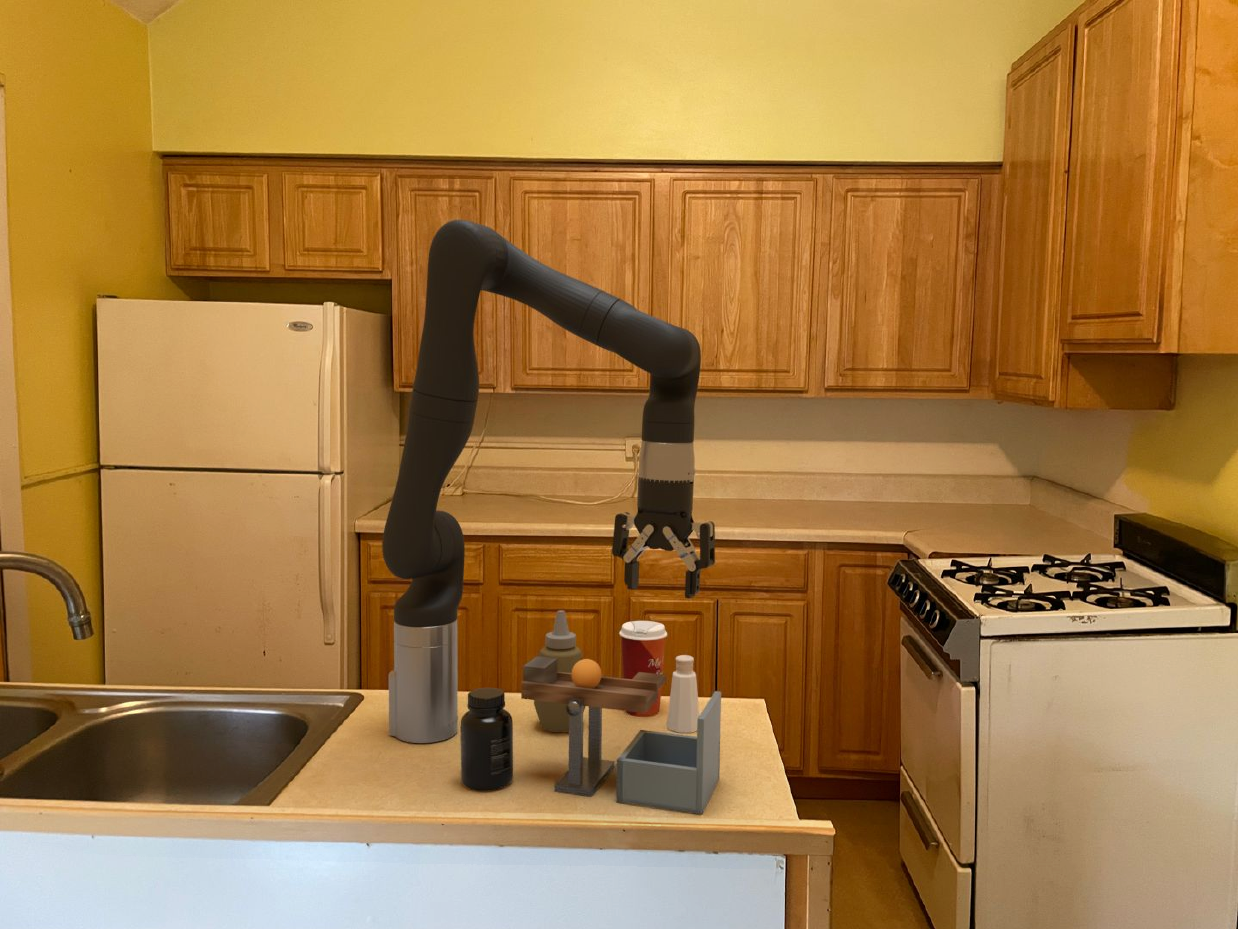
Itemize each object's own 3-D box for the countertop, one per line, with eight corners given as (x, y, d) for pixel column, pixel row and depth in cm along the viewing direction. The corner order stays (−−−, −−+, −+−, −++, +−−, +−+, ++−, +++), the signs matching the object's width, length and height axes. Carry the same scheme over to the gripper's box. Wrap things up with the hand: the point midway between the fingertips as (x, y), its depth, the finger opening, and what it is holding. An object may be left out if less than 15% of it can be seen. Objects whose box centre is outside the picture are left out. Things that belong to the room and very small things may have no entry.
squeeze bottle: (522, 727, 145) (523, 611, 143) (559, 713, 151) (560, 602, 149) (560, 740, 139) (561, 620, 138) (597, 726, 145) (598, 611, 144)
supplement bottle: (511, 769, 128) (511, 683, 127) (514, 791, 122) (515, 700, 121) (460, 772, 127) (460, 685, 126) (460, 794, 121) (460, 702, 120)
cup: (616, 802, 119) (617, 709, 118) (640, 768, 129) (641, 683, 128) (701, 815, 116) (703, 719, 115) (719, 779, 126) (721, 691, 125)
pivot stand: (553, 792, 122) (554, 700, 121) (580, 761, 131) (581, 676, 130) (590, 797, 120) (591, 704, 119) (614, 766, 130) (616, 680, 129)
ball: (566, 692, 123) (567, 662, 123) (577, 683, 127) (577, 654, 127) (595, 695, 122) (596, 665, 122) (605, 686, 126) (605, 657, 126)
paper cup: (661, 721, 148) (663, 633, 147) (613, 717, 149) (615, 630, 148) (669, 704, 156) (670, 621, 154) (623, 701, 157) (624, 618, 156)
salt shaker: (660, 730, 144) (661, 659, 143) (672, 719, 149) (673, 650, 148) (694, 735, 142) (696, 664, 141) (705, 724, 147) (707, 654, 146)
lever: (521, 698, 124) (521, 667, 124) (555, 671, 136) (555, 642, 136) (645, 713, 119) (646, 680, 119) (669, 683, 131) (670, 654, 131)
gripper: (606, 473, 127) (602, 591, 129) (705, 481, 121) (699, 606, 122) (630, 468, 134) (626, 581, 135) (725, 477, 128) (719, 594, 129)
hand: (661, 593), depth 129 cm, fingers open, 8 cm apart
